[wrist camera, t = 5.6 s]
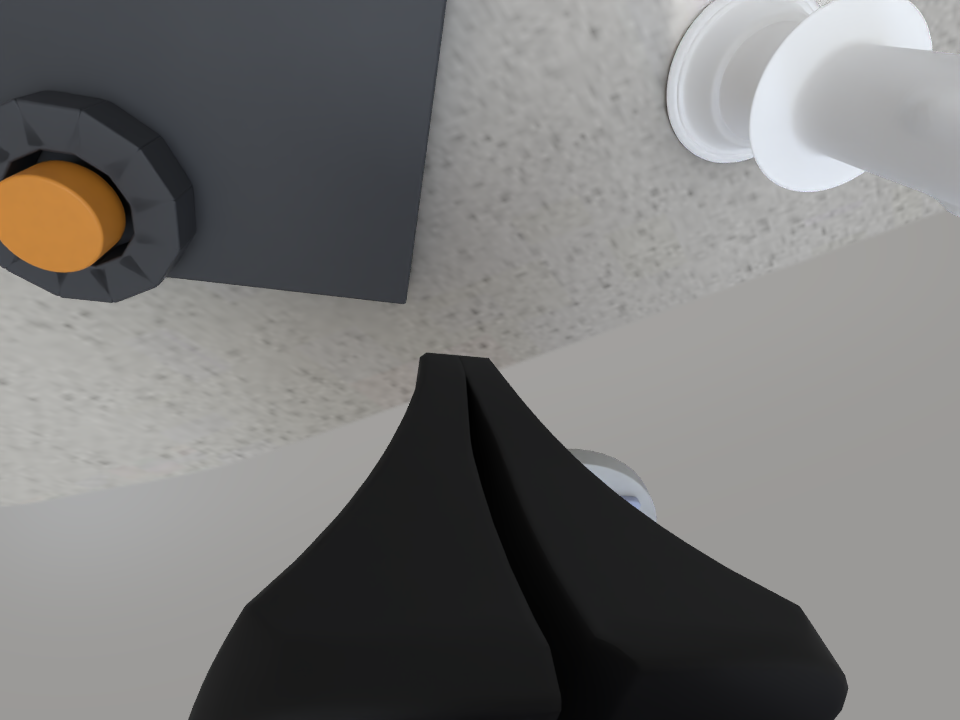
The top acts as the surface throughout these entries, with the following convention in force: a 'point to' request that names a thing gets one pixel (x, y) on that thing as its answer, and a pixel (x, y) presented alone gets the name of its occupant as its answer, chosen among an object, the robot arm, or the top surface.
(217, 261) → the scale
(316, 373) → the top surface
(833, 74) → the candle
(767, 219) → the top surface
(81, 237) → the power button
